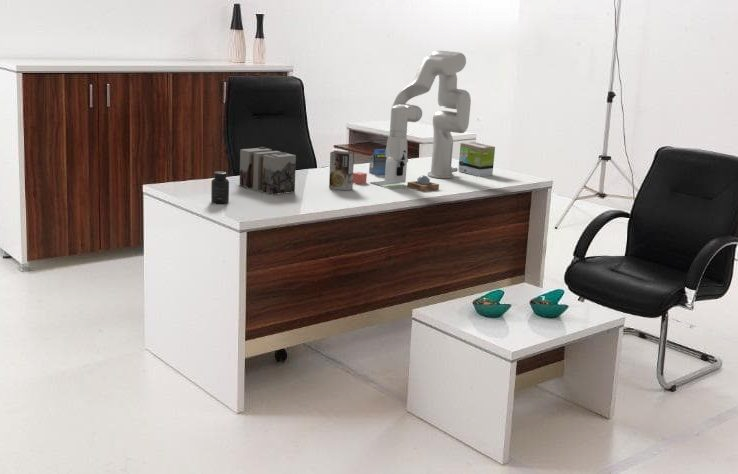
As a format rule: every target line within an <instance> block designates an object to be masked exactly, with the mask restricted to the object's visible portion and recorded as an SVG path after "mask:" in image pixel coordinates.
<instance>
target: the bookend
mask: <svg viewBox="0 0 738 474" xmlns="http://www.w3.org/2000/svg"><path fill="white" fill-rule="evenodd" d="M239 150H240V151H239V153H240V154H239V155H240V157H239V186H240V185H241V187H245V186H246V187H245V188H247V187H248V189H253V190H254V189H255V190H254V191H261V190H262V193H264V192H265V194H266V193H267V194H269V195H271V194H273V195H278V193H281V194H287V193H286V192H289V193H295V191H296V166H297V163H296V161H297V155H296V154H291V153H287V152H282V151H279V150H273V149H272V148H267V147H265V146H258V147H256V148H255V147H254V148H243V149H239ZM250 187H251V188H250Z"/></svg>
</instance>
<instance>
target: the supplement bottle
mask: <svg viewBox="0 0 738 474" xmlns="http://www.w3.org/2000/svg"><path fill="white" fill-rule="evenodd" d="M227 176H228V175H227V172H226V171H221V170H219V171H214V172H213V179H212V180H211V182H210V183H211V184H210V185H211V186H210V187H211V188H210V189H211V191H210V192H211V194H210V195H211V197H210V198H211V199H210V200H211V203H212V204H214V203H216V204H215V205H225V203H226V204H228V203H229V202H230V201H229V200H230V180H229V179H227Z"/></svg>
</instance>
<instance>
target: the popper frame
mask: <svg viewBox="0 0 738 474" xmlns="http://www.w3.org/2000/svg"><path fill="white" fill-rule="evenodd" d="M406 183H407V184H406V185H407V187H406V188H409V189H413V190H415V191H419V192H430V191H438V190H439V189H440V184H439V183H435V182H431V181H430V184H429V185H421V184H417V181H416V180H413V181H407V182H406Z"/></svg>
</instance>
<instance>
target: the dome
mask: <svg viewBox="0 0 738 474" xmlns="http://www.w3.org/2000/svg"><path fill="white" fill-rule="evenodd" d="M416 180H417V184H421V185H429V184H430V182H431V181H430V180H431V179H430V178H429V176H428V175H420V176H418V178H417V179H416Z"/></svg>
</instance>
